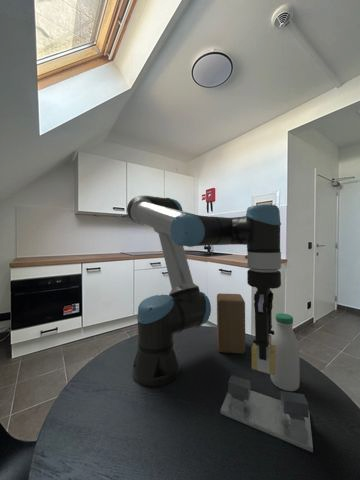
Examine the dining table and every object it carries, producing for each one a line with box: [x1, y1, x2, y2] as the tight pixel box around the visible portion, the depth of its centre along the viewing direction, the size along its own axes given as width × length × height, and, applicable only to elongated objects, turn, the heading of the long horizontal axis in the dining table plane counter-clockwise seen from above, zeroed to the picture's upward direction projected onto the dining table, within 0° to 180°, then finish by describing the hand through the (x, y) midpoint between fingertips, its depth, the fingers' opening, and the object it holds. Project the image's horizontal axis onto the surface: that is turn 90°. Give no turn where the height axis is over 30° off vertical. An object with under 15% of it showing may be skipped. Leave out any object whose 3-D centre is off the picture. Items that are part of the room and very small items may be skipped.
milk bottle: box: [269, 312, 301, 392], centre depth 60 cm, size 8×8×20 cm
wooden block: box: [216, 293, 246, 354], centre depth 80 cm, size 10×10×20 cm
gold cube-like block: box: [251, 343, 276, 375], centre depth 49 cm, size 5×4×5 cm
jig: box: [220, 374, 314, 453], centre depth 49 cm, size 19×10×6 cm, turn 61°
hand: (264, 365), depth 49 cm, fingers closed on gold cube-like block, 4 cm apart
